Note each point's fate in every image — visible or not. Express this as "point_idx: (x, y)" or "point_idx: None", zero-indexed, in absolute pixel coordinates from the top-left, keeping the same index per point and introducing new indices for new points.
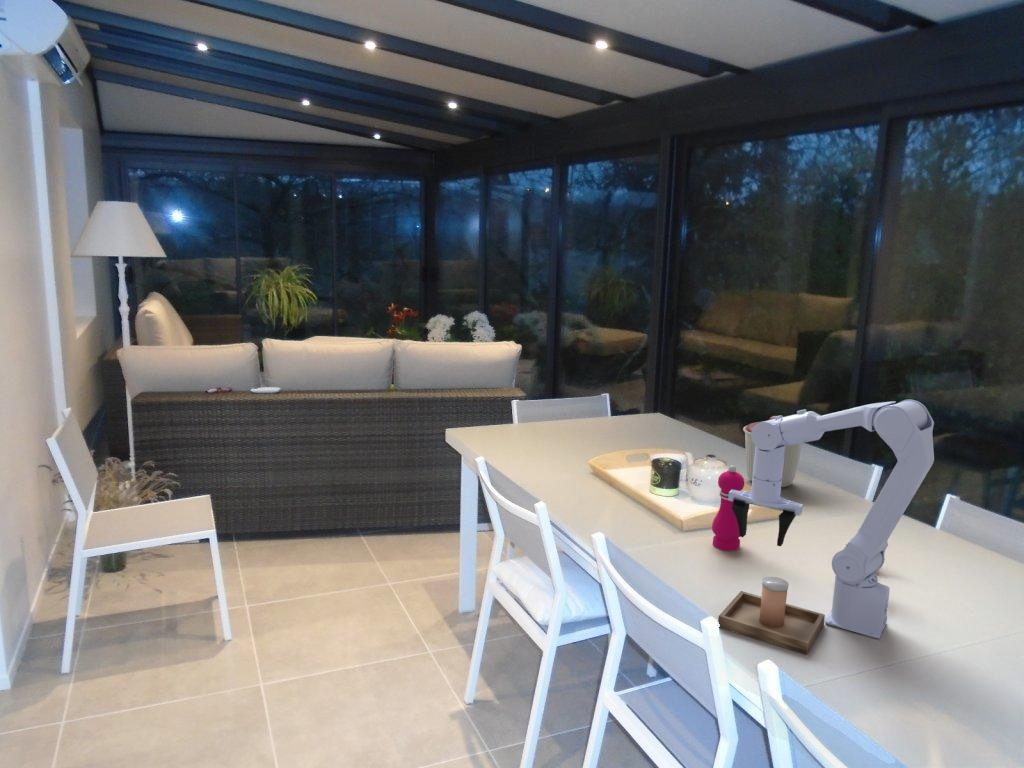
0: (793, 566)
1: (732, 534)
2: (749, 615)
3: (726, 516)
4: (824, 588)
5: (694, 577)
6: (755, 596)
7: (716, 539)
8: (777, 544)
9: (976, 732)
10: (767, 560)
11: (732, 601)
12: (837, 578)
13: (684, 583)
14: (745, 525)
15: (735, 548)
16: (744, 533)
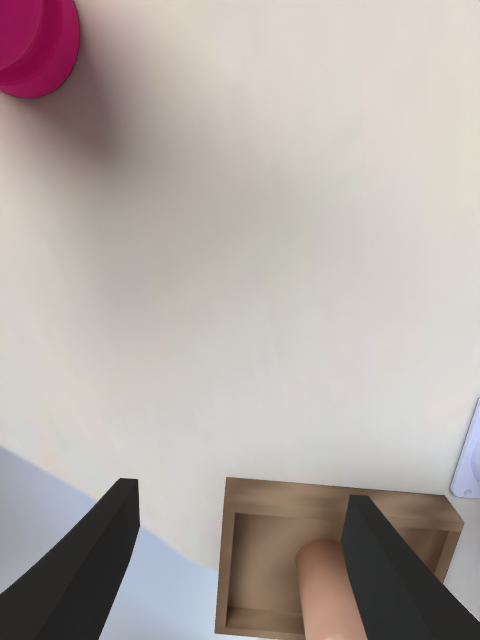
0: (335, 100)
1: (7, 54)
2: (270, 557)
3: None
4: (457, 257)
5: (66, 405)
6: (269, 514)
7: None
8: (345, 551)
9: None
10: (225, 100)
11: (221, 564)
12: None
13: (62, 454)
14: (107, 556)
15: (70, 62)
16: (132, 519)
